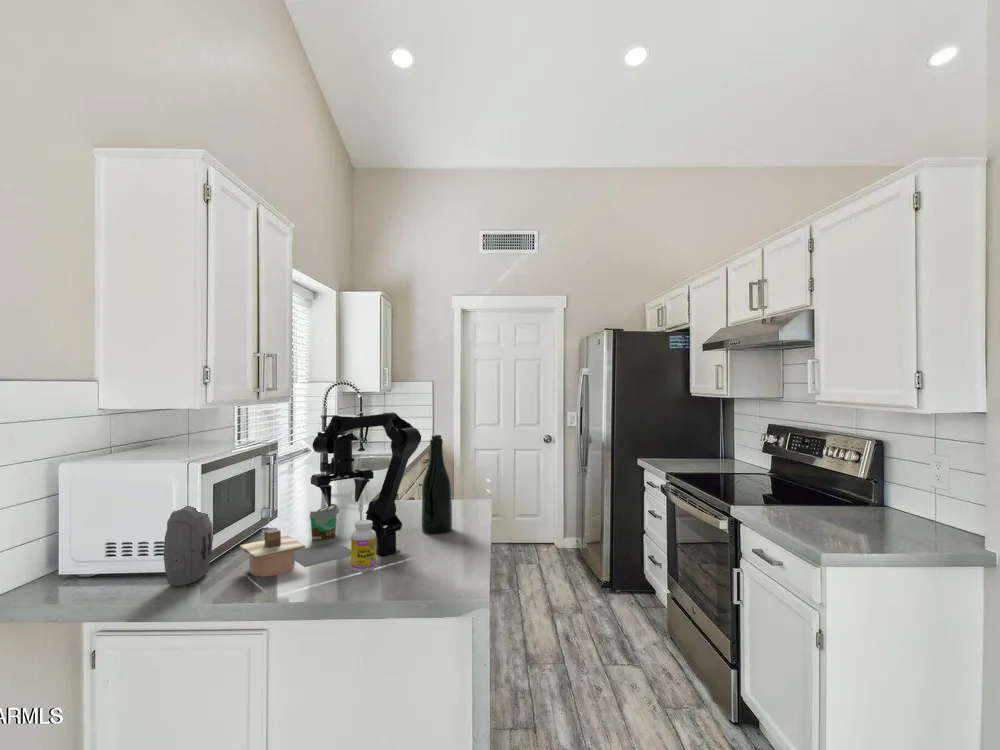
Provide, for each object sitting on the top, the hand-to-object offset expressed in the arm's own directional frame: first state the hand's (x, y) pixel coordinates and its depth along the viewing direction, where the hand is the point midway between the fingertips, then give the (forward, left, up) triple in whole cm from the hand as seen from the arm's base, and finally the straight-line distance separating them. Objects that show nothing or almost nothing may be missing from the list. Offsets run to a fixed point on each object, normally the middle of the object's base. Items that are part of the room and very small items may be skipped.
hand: (343, 504), depth 166 cm
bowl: (-7, +24, -13) cm, 28 cm away
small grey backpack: (0, +42, -13) cm, 44 cm away
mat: (-4, +9, -13) cm, 16 cm away
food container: (+11, 0, -13) cm, 17 cm away
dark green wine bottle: (-7, -31, -13) cm, 34 cm away
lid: (-7, +24, -7) cm, 26 cm away
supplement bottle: (-23, +5, -13) cm, 27 cm away
